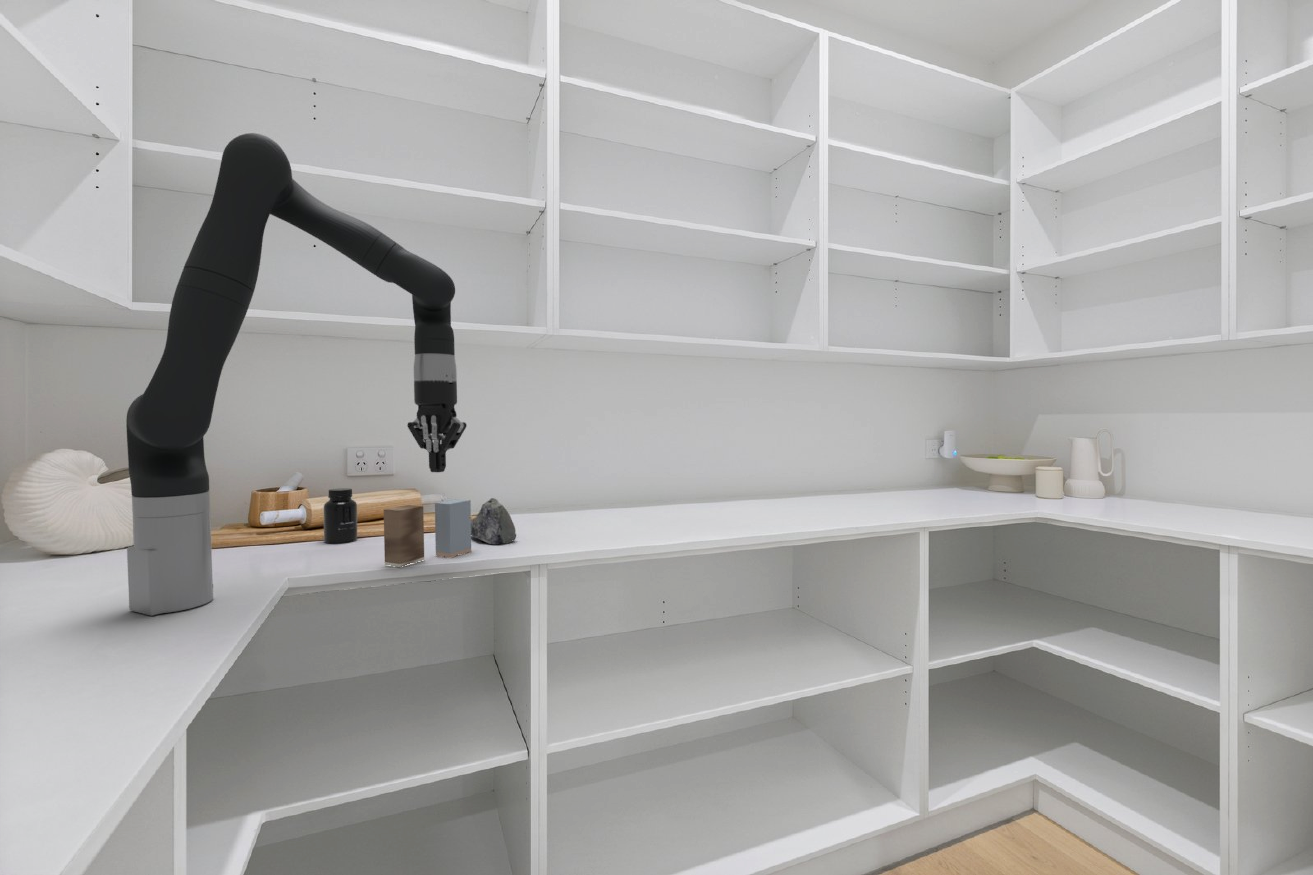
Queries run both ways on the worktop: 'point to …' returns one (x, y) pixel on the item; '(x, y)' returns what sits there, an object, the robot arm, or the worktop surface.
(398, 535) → the walnut block
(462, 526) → the slate block
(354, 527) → the supplement bottle
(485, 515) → the mineral rock
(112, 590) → the worktop surface
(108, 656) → the worktop surface
